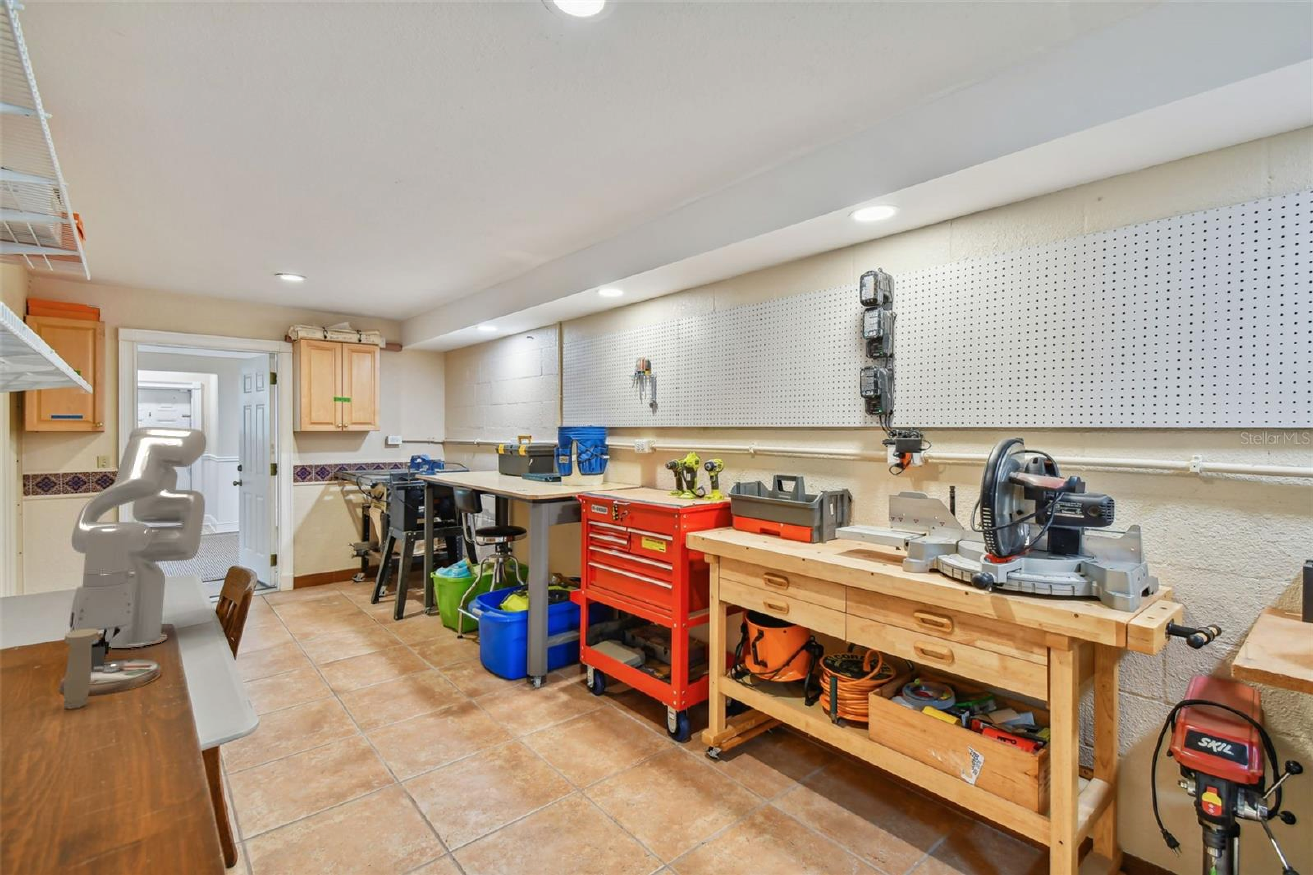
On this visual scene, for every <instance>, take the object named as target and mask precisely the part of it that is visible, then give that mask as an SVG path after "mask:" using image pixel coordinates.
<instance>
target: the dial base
mask: <svg viewBox="0 0 1313 875" xmlns="http://www.w3.org/2000/svg"><path fill="white" fill-rule="evenodd" d="M123 661H124V662H125V663H124V666H131V665H151V667H150V668H124V669H123V670H121V671H117V672H112V673H104V672H103V669H101V670H91V681H90V688H89V693H88V696H87V697H91V696H92V697H93V696H102V695H109V694H108V693H110V694H113V693H112V692H116V691H121V692H124V691H123V690H126V691H128V690H127V689H130V688H133V687H137V686H139V685H141V684H143V683H146V682H149V681H151V680H152V679H154V678H156V677H157V676H158V675H159V674H160V673H161V674H162V666H163V665H162V664H161V663H160V662H158V661H154V660H147V659H133V658H131V659H124V660H123ZM105 663H106V662H104V664H105ZM64 684H65V676H63V677H62V678H61V680H60V684H59V685H60V686H59V692H60V693H61V694H63V695H64V687H65V686H64ZM137 688H138V687H137ZM130 690H131V689H130ZM116 693H117V692H116Z"/></svg>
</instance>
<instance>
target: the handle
mask: <svg viewBox="0 0 1313 875" xmlns="http://www.w3.org/2000/svg"><path fill="white" fill-rule="evenodd" d="M97 637H98V638H99V630H97V629H82V630H75V631H72V632H70V631H68V632H67V633H66V634H65V636H64V643H65V644H67V645H69V652H68V659H67V665H66V670H65V676H64V677H65V684H64V686H65V687H64V694H63V696H64V708H65V709H68V710H74V709H80V708H81V707H84V706H86V705H87V703H88V699H89V698H88V697H89V696H88V693H89V688H90V681H91V648H92V642H93V641H95V640H96V639H97Z"/></svg>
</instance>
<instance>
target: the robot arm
mask: <svg viewBox="0 0 1313 875" xmlns="http://www.w3.org/2000/svg"><path fill="white" fill-rule="evenodd" d="M125 446H126V447H125V449H124V452H123V455H122V458H121V460H120V461H121V462H120V465H119V467H118V471H117V474H116V475H115V476H116V478H115V479H114V483H112V485H110V486H108V487H106V488H105V489H103V490H102V491H100V492H99V493H97V494H96V495H94V496H93V497H92V498H91V499H90V500H88V502H87V503H86V504H85V505H83V507H82V508H81V510H80V511H79V514H78V516H77V520H76V522H75V525H74V526H73V527H74V528H73V531H72V536H71V546H72V548H73V550H74V551H75V552H77V553H80V554H84V555H85V556H84V564H83V575H82V576H83V578H82V585H81V586H77V587H76V590H75V594H74V596H73V600H72V605H71V610H70V616H69V622H68V623H69V628H70V630H69V632H72V631H75V630H82V629H97V630H98V631H101V630H102V631H103V632H102V634H101V638H100V639H99V636H98V637H97V639H96V640H95V641H93V642H92V647H98V646H105V656H104V661H106V660H105V659H106V655H108V654H109V649H112V648H127V647H135V646H143V645H147V644H150V643H152V642H155V641H160V640H162V639H163V638H165V637H160V636H167V635H164V634H161V632H162V621H163V612H164V602H165V600H164V598H165V586H166V576H165V573H164V571H163V569H162V568H161V567H160V566H159V565H158V564H157V562H158V563H159V562H180V561H181V562H183V561H190V560H193V559H194V558H195V557H196V556H197V554H198V552H199V549H200V544H201V538H202V531H203V524H204V518H205V510H206V509H205V508H206V500H205V497H204V495H203V494H202V493H201V492H200V491H198V490H193V489H177V488H176V487H177V482H178V478H179V477H178V476H179V475H178V472H177V470H176V469H175V468H187V467H189V466H192V465H193V464H195V462H197V461H198V459H199V458H200V457H201V456H202V455H203V454H204V453H205V451H206V448H207V437H206V435H205V433H204V432H203V431H201V430H200V429H195V428H184V427H183V428H180V427H179V428H178V427H166V426H165V427H164V426H163V427H161V426H142V427H137V428H134V429H133V430H131V431H130V434H129V437H128V442H127V444H126V445H125ZM128 503H133V507H132V515H133V518H134V519H135V520H136V521H137V522H136V521H135V522H134V521H131V522H130V521H129V522H127V521H123V522H122V521H98V520H99V519H100V518H101V517H102V516H103V515H104V514H106V513H107V512H109V511H110V510H112V509H114V508H117V507H119V506H122V505H126V504H128ZM146 523H147V524H146ZM148 524H181V526H149V525H148ZM109 647H111V648H109Z"/></svg>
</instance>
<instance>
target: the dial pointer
mask: <svg viewBox="0 0 1313 875" xmlns="http://www.w3.org/2000/svg"><path fill="white" fill-rule="evenodd" d="M104 656H105V657H106V655H105V646H98V647H92V648H91V670H101V669H103V672H104V673H112V672H117V671H121V670H123V669H124V668H150V667H151V665H131V666H124V663H125V662H124V660H113V661H109V662H105V660H104ZM104 663H105V664H104Z"/></svg>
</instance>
